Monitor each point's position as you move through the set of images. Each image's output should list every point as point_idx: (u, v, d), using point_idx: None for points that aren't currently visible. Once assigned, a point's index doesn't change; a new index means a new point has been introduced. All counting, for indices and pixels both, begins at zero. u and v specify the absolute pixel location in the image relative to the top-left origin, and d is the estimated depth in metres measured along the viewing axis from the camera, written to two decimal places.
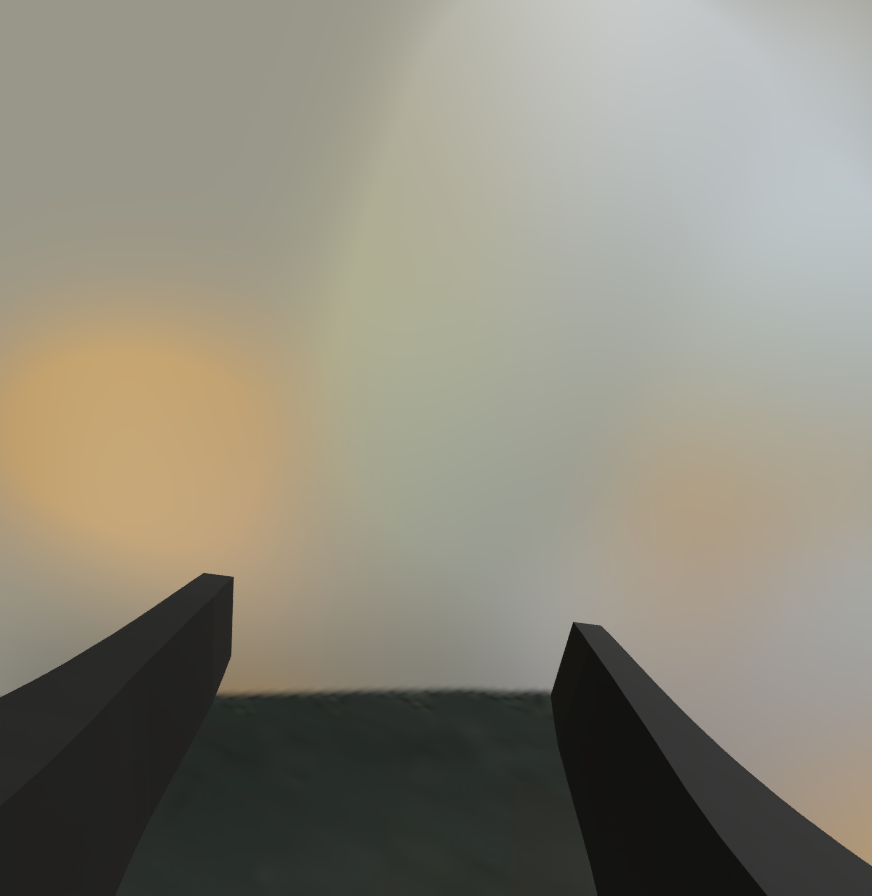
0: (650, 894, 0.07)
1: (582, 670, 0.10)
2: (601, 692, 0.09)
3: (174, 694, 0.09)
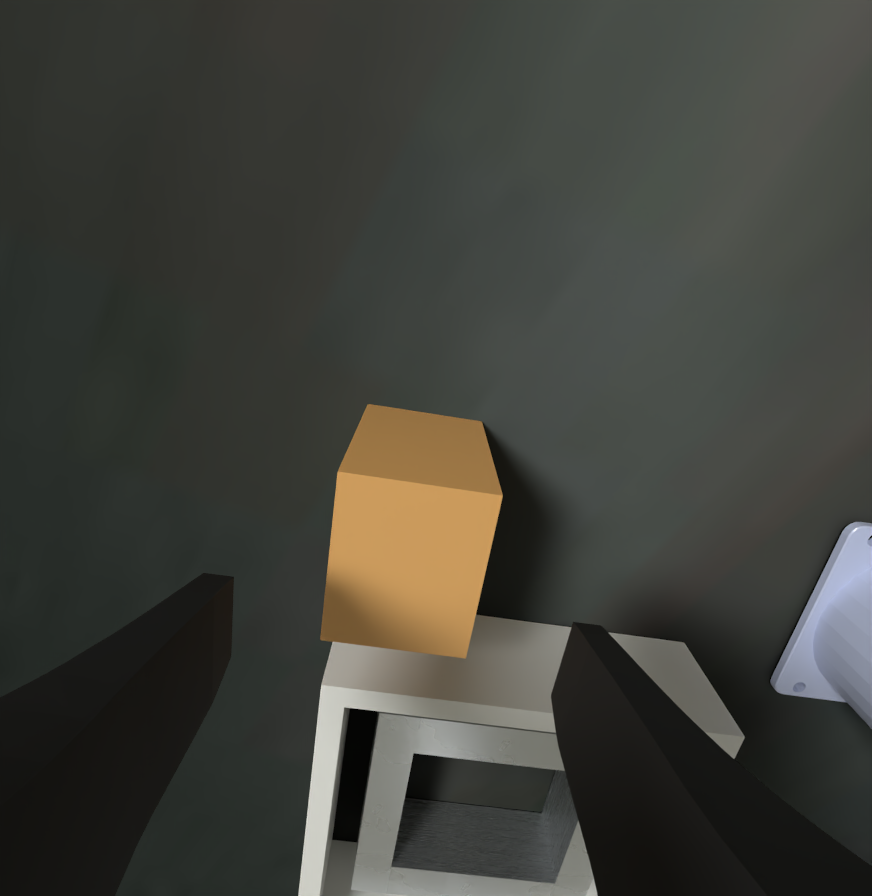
0: (650, 894, 0.07)
1: (582, 670, 0.10)
2: (601, 692, 0.09)
3: (174, 694, 0.09)
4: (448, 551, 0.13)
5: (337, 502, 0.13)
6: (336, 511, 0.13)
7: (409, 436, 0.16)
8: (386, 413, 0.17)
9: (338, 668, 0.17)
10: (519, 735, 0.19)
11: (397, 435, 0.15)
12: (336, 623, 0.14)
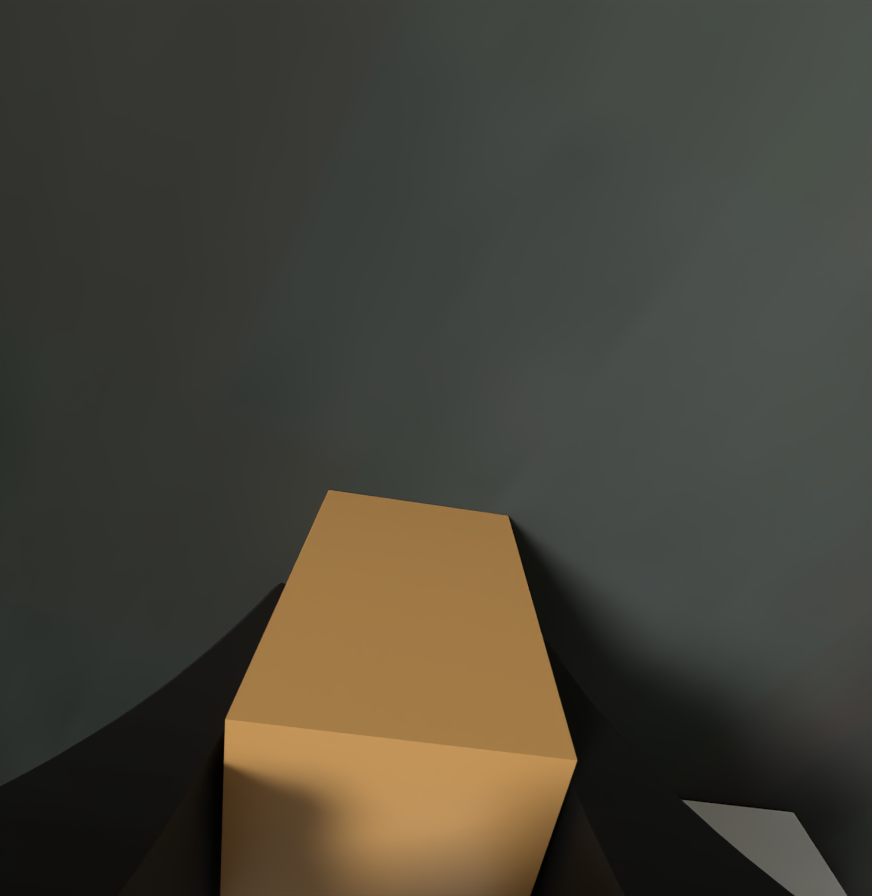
0: (540, 883, 0.07)
1: None
2: None
3: None
4: (461, 850, 0.07)
5: (230, 771, 0.06)
6: (229, 787, 0.06)
7: (389, 571, 0.09)
8: (357, 510, 0.11)
9: None
10: None
11: (368, 571, 0.09)
12: None
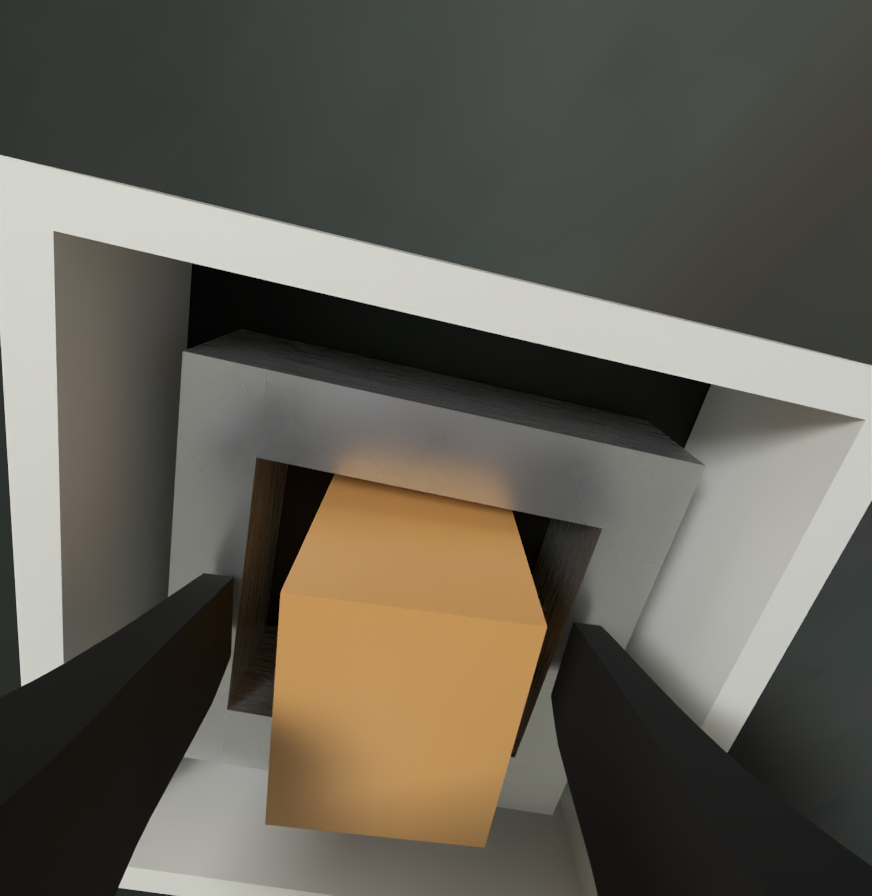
0: (650, 894, 0.07)
1: (582, 670, 0.10)
2: (601, 692, 0.09)
3: (174, 694, 0.09)
4: (459, 706, 0.08)
5: (282, 636, 0.08)
6: (281, 650, 0.08)
7: (400, 506, 0.11)
8: None
9: (60, 169, 0.08)
10: (462, 425, 0.10)
11: (382, 506, 0.11)
12: (288, 802, 0.09)
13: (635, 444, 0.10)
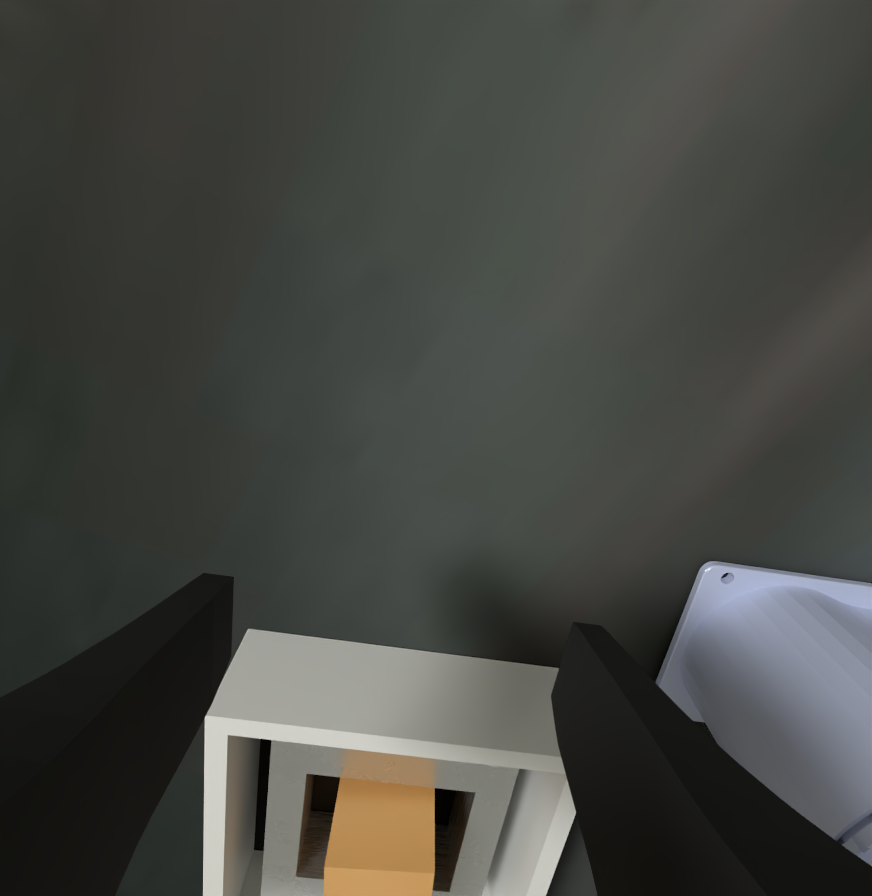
0: (650, 894, 0.07)
1: (582, 670, 0.10)
2: (601, 692, 0.09)
3: (174, 694, 0.09)
4: None
5: (325, 881, 0.19)
6: (325, 885, 0.19)
7: (376, 784, 0.22)
8: None
9: (225, 699, 0.19)
10: (402, 757, 0.21)
11: (367, 786, 0.22)
12: None
13: None
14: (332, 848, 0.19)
